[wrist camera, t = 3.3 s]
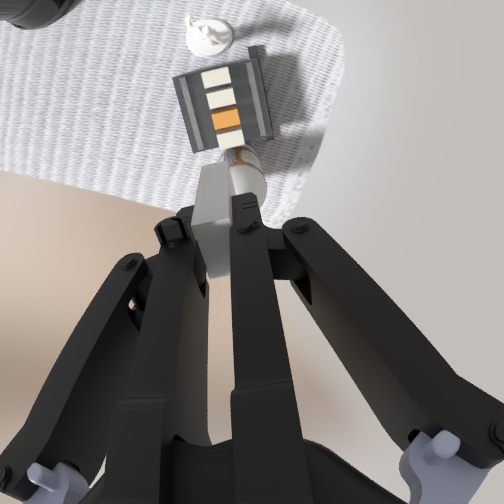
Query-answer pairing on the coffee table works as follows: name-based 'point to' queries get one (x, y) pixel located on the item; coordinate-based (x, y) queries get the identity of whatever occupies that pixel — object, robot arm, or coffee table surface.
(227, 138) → the cream small block
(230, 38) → the figurine
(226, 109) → the paddle
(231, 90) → the paddle
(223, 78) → the cream rectangular block
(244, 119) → the breaker panel
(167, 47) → the coffee table surface
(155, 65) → the coffee table surface
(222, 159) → the bath foam
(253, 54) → the dark grey slat
